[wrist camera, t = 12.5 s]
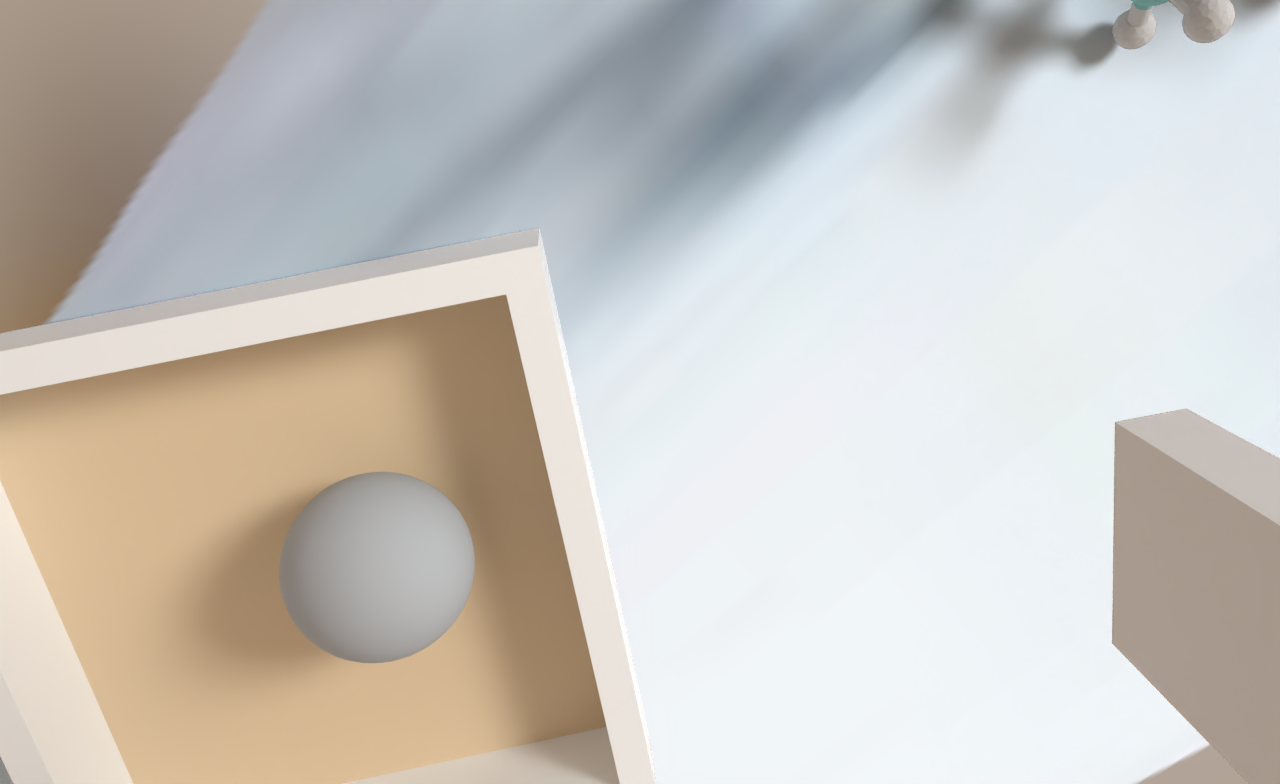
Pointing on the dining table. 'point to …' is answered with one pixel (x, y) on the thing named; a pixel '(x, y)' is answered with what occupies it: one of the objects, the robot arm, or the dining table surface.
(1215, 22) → the molecular model
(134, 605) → the square serving dish
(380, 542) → the ball
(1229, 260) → the dining table surface
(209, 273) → the dining table surface
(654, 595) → the dining table surface
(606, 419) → the dining table surface
